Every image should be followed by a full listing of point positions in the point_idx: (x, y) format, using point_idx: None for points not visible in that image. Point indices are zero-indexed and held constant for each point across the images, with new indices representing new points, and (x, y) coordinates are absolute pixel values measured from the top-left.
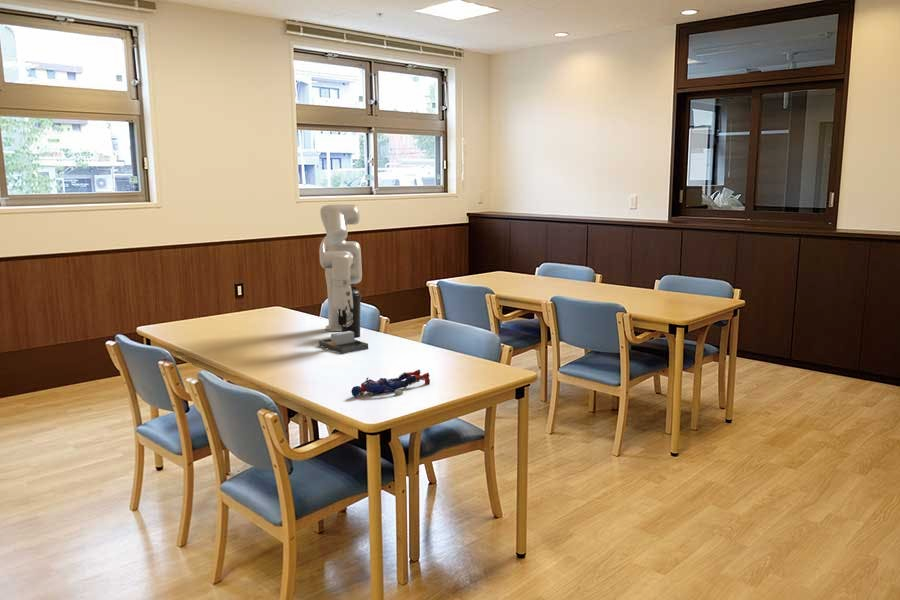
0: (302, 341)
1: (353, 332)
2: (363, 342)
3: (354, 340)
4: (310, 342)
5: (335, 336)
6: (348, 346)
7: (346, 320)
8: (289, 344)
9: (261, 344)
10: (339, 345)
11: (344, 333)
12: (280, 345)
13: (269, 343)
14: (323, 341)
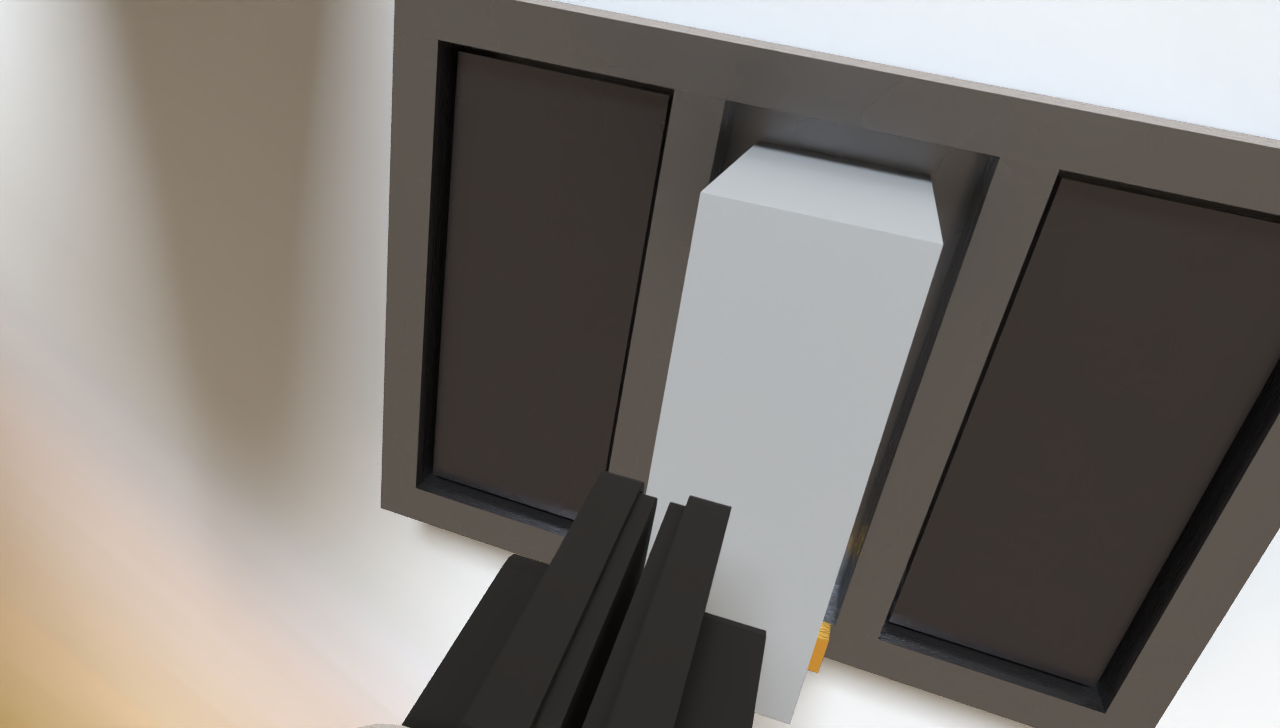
0: (96, 393)
1: (936, 263)
2: (1264, 164)
3: (887, 132)
4: (197, 380)
5: (789, 706)
6: (1076, 528)
7: (709, 588)
8: (150, 574)
9: (14, 682)
10: (895, 587)
11: (821, 501)
12: (139, 644)
13: (11, 625)
14: (477, 517)
